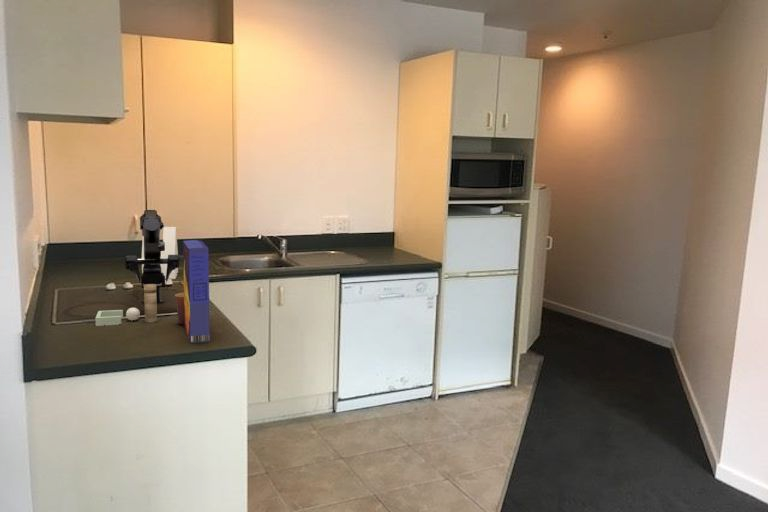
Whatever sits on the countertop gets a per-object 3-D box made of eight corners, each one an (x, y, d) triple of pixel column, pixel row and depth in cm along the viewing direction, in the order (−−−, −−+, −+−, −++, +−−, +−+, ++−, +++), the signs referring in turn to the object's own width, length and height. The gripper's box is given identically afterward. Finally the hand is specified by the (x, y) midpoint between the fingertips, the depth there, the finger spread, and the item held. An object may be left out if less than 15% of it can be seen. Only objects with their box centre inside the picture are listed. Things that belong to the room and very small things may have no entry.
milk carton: (146, 273, 316) (145, 225, 313) (178, 272, 320) (177, 225, 317) (142, 279, 298) (140, 228, 295) (175, 279, 302) (174, 228, 299)
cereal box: (184, 326, 210) (183, 240, 206) (202, 325, 212) (201, 239, 208) (189, 343, 190) (188, 247, 186) (209, 341, 192) (208, 247, 188)
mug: (184, 327, 209) (183, 298, 207) (170, 323, 214) (169, 294, 213) (214, 321, 218) (214, 293, 216) (200, 317, 223) (199, 290, 222)
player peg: (143, 320, 216) (142, 284, 215) (154, 319, 219) (153, 283, 217) (147, 323, 213) (146, 286, 212) (158, 321, 216) (158, 285, 214)
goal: (98, 318, 218) (98, 310, 217) (123, 317, 220) (122, 309, 220) (95, 326, 208) (95, 317, 207) (121, 324, 210) (120, 316, 210)
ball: (124, 320, 217) (123, 307, 216) (137, 318, 220) (137, 305, 219) (128, 322, 213) (128, 309, 213) (141, 320, 216) (141, 308, 216)
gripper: (124, 234, 220) (124, 271, 213) (178, 233, 227) (181, 269, 220) (125, 250, 229) (125, 286, 221) (177, 249, 236) (179, 284, 228)
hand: (153, 281), depth 222 cm, fingers open, 9 cm apart
